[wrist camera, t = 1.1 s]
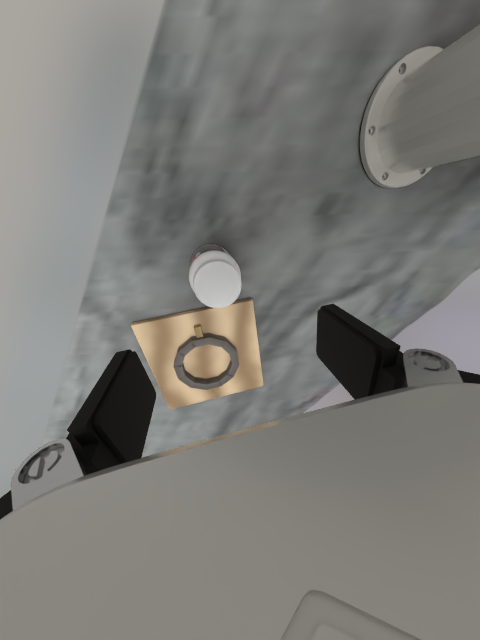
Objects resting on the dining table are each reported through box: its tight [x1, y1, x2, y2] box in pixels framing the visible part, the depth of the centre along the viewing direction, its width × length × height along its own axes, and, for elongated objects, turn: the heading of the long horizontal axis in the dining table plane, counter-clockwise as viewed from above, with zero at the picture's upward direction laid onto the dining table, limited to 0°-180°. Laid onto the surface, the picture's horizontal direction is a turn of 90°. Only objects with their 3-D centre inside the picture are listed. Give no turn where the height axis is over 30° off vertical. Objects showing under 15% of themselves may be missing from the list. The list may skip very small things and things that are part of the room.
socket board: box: [131, 298, 263, 409], centre depth 33 cm, size 18×18×2 cm
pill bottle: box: [189, 244, 242, 308], centre depth 24 cm, size 6×6×10 cm
